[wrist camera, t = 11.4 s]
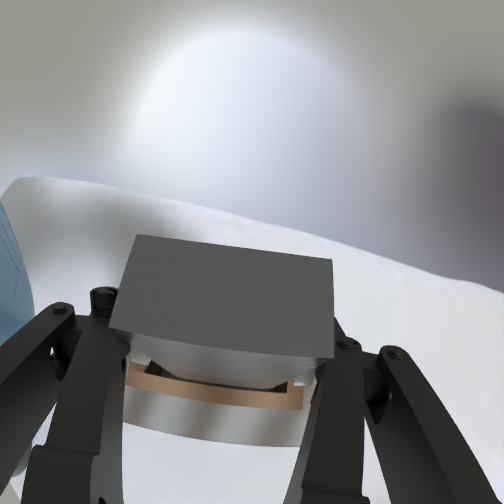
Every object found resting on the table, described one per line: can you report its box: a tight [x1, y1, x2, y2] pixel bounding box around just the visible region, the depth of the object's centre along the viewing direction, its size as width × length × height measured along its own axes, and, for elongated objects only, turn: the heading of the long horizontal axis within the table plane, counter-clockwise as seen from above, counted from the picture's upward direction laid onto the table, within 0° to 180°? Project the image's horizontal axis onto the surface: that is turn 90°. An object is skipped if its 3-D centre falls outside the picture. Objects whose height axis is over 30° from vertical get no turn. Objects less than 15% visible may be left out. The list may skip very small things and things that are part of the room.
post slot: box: [123, 352, 317, 447], centre depth 21 cm, size 20×14×6 cm
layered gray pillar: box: [109, 234, 334, 389], centre depth 13 cm, size 6×3×12 cm, turn 84°
